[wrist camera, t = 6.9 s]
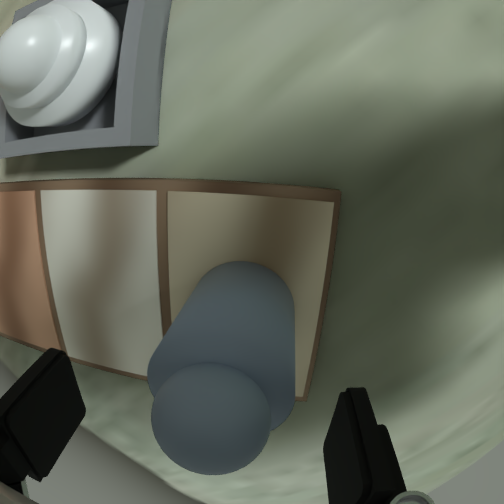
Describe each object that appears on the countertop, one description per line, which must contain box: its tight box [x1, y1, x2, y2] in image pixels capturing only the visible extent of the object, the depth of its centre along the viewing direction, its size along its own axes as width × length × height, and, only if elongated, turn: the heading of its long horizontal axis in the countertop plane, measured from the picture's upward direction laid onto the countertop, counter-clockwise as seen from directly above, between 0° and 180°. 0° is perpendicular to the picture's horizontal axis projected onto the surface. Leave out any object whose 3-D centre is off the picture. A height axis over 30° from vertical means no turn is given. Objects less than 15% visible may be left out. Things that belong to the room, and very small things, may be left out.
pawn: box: [147, 261, 295, 475], centre depth 11 cm, size 5×5×9 cm
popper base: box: [0, 0, 172, 159], centre depth 12 cm, size 9×9×3 cm
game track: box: [0, 178, 341, 401], centre depth 16 cm, size 24×12×1 cm, turn 87°
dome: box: [0, 0, 123, 127], centre depth 9 cm, size 6×6×5 cm
